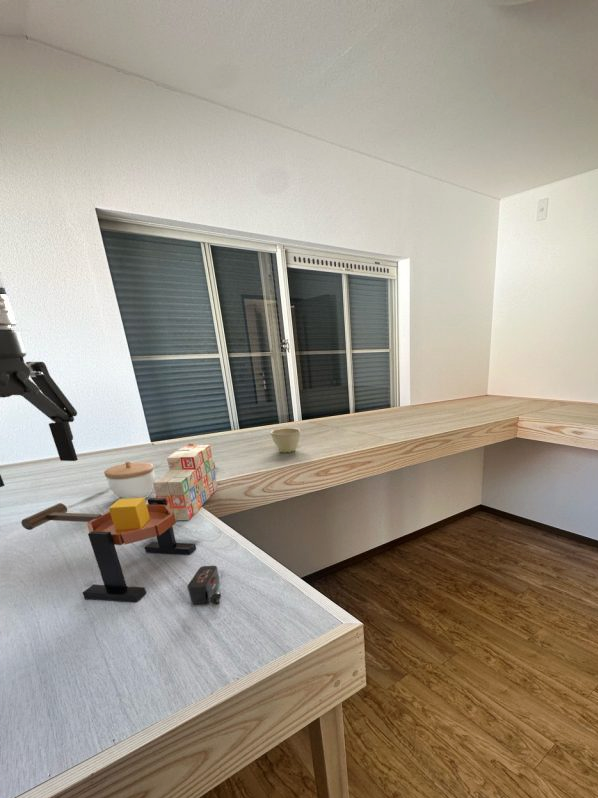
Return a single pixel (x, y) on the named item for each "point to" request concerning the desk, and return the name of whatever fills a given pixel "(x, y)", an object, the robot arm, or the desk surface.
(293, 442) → the flower pot
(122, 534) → the tipping bowl
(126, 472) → the trinket box
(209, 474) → the stack of blocks
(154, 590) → the desk surface
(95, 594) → the bowl stand
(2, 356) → the robot arm
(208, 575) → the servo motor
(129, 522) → the block
